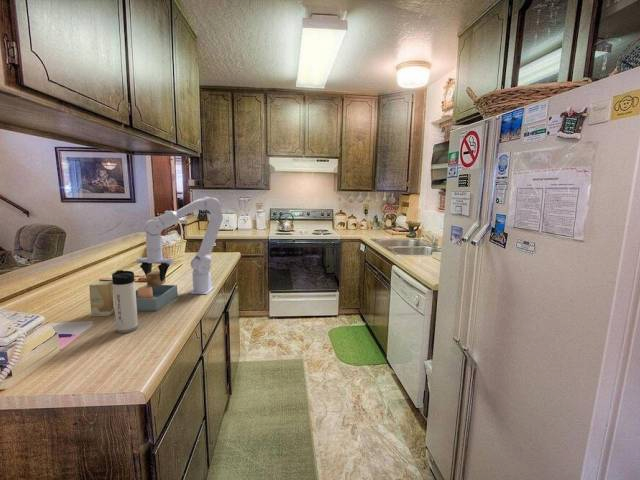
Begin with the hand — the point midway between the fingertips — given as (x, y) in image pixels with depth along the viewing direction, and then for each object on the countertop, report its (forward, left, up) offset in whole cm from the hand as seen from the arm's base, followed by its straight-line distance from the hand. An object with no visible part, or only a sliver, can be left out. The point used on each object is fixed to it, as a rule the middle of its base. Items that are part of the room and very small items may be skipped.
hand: (156, 280), depth 130 cm
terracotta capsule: (+8, 0, -8) cm, 11 cm away
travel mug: (+27, +5, -9) cm, 29 cm away
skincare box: (+16, -11, -9) cm, 22 cm away
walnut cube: (0, 0, -2) cm, 2 cm away
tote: (+4, 0, -8) cm, 9 cm away
